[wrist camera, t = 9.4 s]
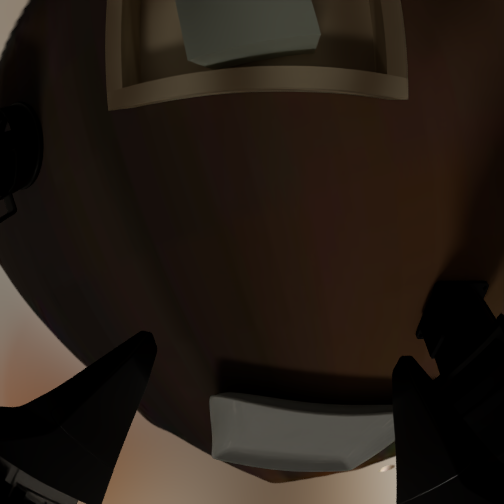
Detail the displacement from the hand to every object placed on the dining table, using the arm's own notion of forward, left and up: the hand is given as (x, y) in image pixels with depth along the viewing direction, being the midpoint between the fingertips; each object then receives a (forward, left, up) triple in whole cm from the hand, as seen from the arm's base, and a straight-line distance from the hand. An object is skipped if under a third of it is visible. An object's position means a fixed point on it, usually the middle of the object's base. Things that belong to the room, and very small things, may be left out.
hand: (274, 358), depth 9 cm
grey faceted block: (+2, -15, -11) cm, 19 cm away
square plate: (-4, +34, -12) cm, 36 cm away
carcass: (+2, -15, -12) cm, 19 cm away
